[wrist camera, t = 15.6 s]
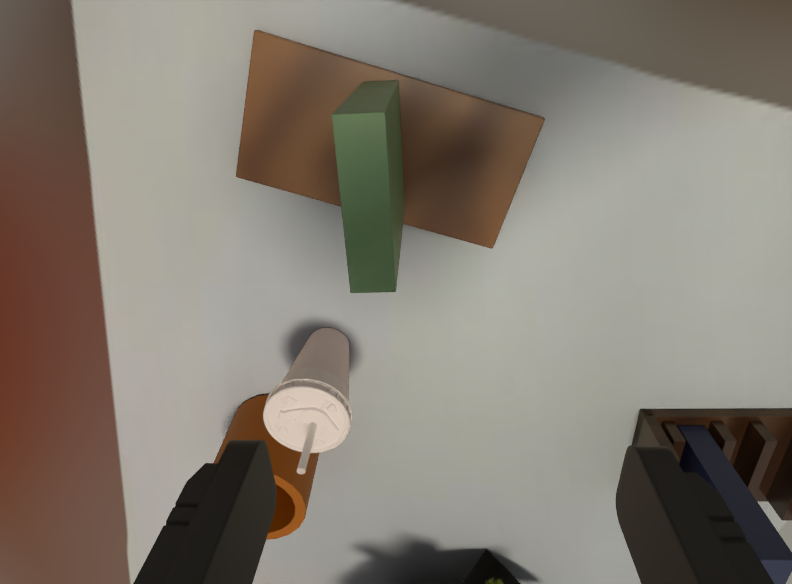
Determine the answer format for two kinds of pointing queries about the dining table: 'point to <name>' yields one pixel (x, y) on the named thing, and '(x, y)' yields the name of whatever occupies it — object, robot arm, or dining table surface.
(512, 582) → the potted plant
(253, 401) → the mug
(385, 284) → the green book
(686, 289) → the dining table surface
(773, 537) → the navy book
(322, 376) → the smoothie
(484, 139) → the brown wooden board
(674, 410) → the book rack
